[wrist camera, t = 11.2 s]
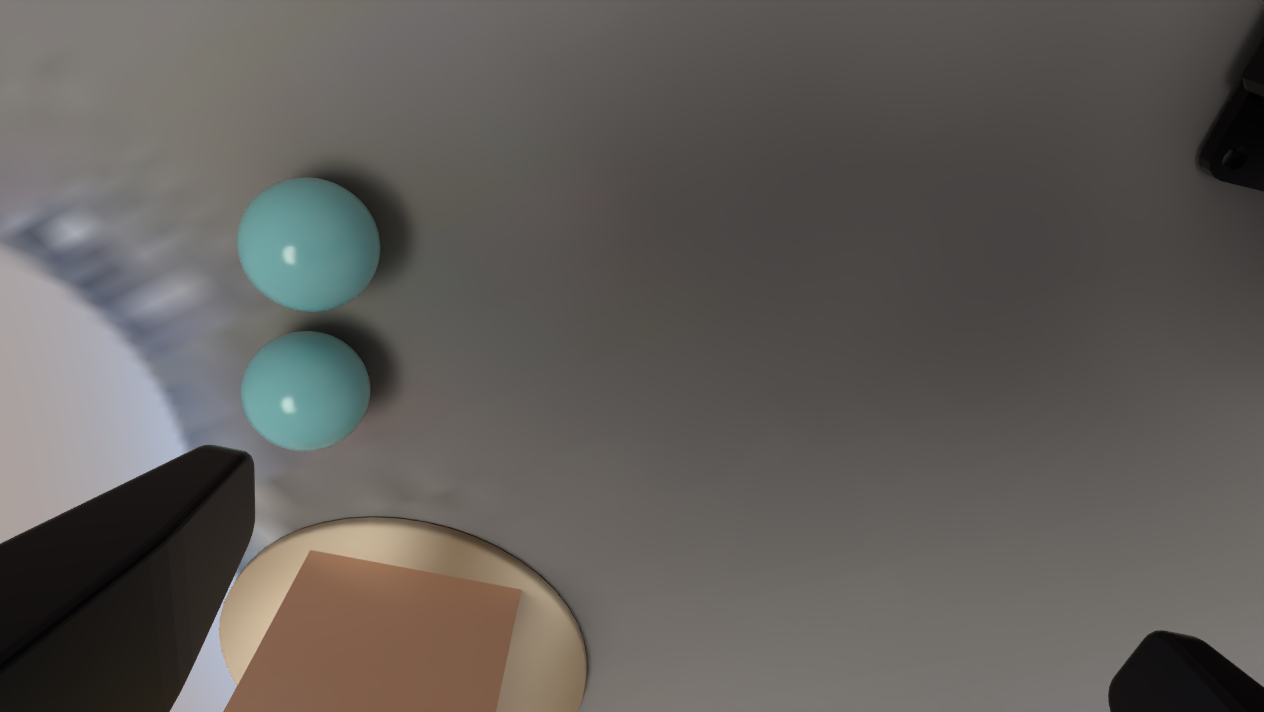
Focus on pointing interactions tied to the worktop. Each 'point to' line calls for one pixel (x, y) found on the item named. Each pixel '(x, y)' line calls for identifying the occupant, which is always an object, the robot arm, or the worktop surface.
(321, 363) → the marble
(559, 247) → the worktop surface
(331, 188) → the marble
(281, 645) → the salmon pink block
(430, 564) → the coaster
